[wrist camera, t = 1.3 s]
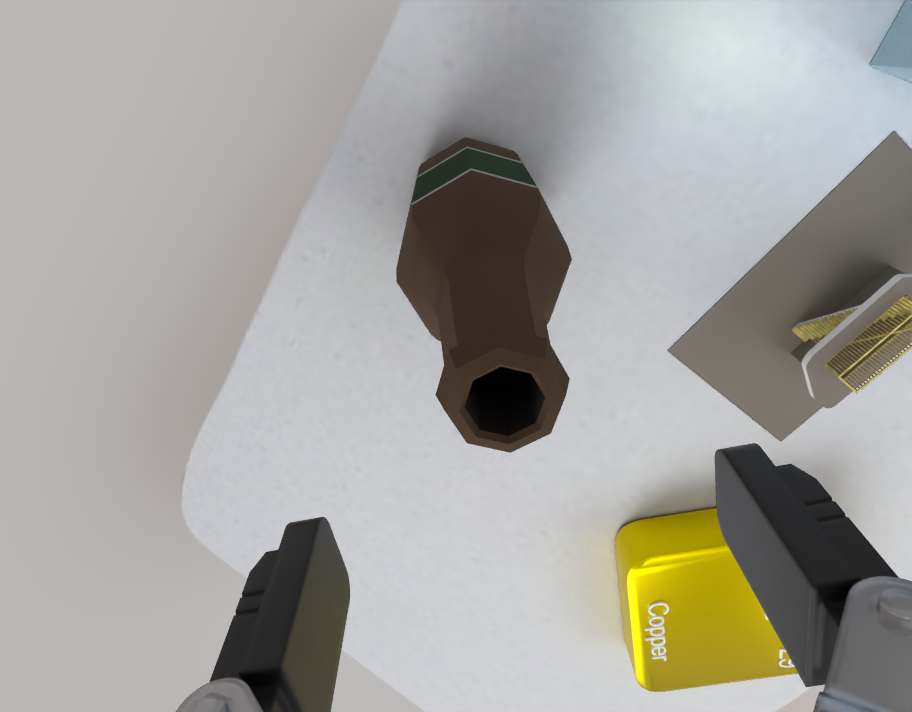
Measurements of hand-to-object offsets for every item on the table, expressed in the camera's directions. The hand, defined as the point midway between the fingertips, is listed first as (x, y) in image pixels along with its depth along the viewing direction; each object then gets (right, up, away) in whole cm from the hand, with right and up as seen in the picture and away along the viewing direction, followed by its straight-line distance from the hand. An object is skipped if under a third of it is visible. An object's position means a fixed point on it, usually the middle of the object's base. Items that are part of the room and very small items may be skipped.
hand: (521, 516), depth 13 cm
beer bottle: (0, +13, +26) cm, 29 cm away
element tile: (+20, -15, +40) cm, 47 cm away
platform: (+23, +7, +29) cm, 38 cm away
